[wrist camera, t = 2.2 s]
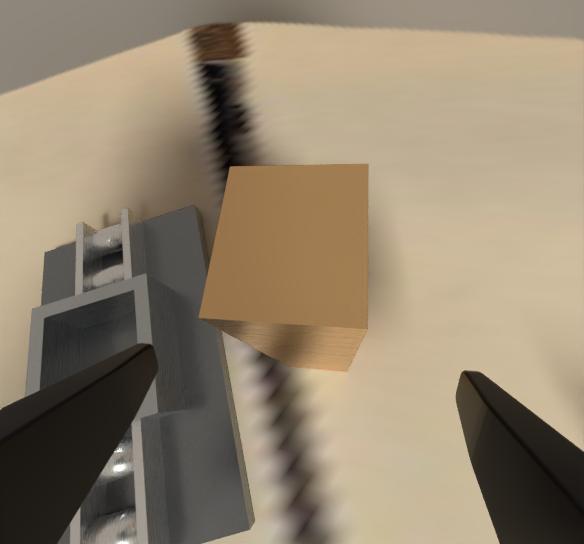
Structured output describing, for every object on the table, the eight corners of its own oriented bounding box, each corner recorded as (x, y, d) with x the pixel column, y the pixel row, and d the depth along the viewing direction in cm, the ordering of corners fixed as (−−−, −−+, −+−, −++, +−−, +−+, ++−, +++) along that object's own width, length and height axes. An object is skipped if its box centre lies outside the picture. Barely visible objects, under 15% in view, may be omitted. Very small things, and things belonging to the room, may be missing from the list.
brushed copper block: (347, 371, 18) (367, 329, 6) (288, 366, 18) (198, 318, 6) (349, 305, 19) (368, 163, 7) (294, 302, 20) (230, 166, 8)
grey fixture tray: (254, 521, 16) (229, 561, 12) (39, 583, 16) (-49, 640, 12) (200, 212, 24) (174, 178, 20) (56, 257, 24) (4, 233, 20)
